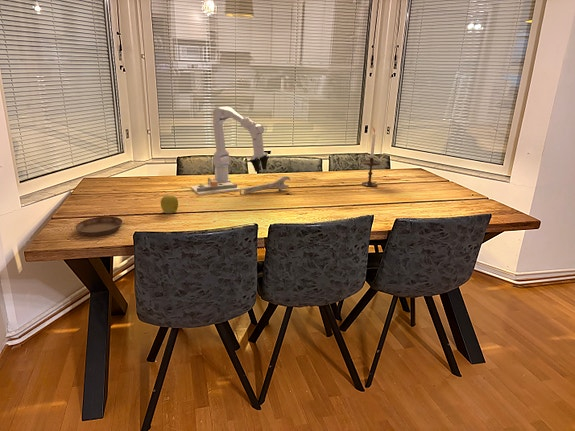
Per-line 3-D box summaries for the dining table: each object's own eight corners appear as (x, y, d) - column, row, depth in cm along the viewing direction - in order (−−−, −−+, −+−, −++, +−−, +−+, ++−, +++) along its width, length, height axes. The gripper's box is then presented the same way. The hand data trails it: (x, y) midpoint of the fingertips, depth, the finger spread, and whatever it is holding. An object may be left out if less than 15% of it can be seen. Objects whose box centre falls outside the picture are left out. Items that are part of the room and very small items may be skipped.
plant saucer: (87, 242, 154) (86, 234, 153) (69, 230, 165) (67, 223, 164) (131, 230, 167) (130, 223, 166) (111, 220, 178) (110, 213, 177)
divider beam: (192, 188, 228) (192, 184, 227) (230, 184, 238) (230, 180, 237) (197, 193, 219) (197, 189, 218) (237, 189, 230) (237, 184, 229)
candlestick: (358, 186, 242) (363, 127, 231) (362, 182, 252) (367, 125, 240) (376, 188, 238) (382, 128, 227) (379, 184, 248) (385, 126, 236)
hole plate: (190, 187, 230) (190, 186, 229) (230, 183, 240) (230, 181, 240) (198, 195, 216) (198, 193, 216) (240, 190, 227) (240, 188, 227)
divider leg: (206, 184, 231) (205, 177, 229) (211, 184, 232) (210, 177, 231) (212, 189, 221) (212, 182, 220) (217, 189, 223) (217, 181, 221)
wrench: (240, 198, 223) (290, 188, 232) (241, 199, 221) (291, 189, 231) (238, 184, 220) (289, 174, 229) (239, 185, 218) (290, 175, 228)
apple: (171, 214, 183) (165, 193, 181) (160, 216, 187) (154, 195, 186) (184, 209, 189) (178, 189, 188) (173, 211, 194) (167, 191, 192)
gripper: (257, 147, 216) (260, 172, 220) (270, 144, 229) (273, 168, 232) (246, 148, 220) (249, 172, 223) (260, 145, 232) (262, 168, 236)
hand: (260, 170), depth 228 cm, fingers open, 7 cm apart
